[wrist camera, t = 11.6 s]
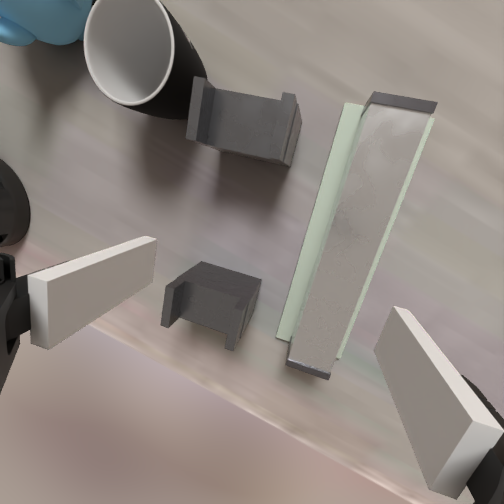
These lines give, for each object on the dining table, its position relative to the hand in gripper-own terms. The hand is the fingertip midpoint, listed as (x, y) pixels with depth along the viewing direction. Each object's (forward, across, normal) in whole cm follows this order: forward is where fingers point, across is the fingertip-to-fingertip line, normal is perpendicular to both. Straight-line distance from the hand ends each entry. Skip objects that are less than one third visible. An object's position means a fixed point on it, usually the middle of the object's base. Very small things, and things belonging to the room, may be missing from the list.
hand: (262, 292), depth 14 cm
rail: (+19, +7, 0) cm, 20 cm away
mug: (+21, -18, +14) cm, 31 cm away
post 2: (+20, -6, -10) cm, 23 cm away
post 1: (+20, -6, +10) cm, 23 cm away
